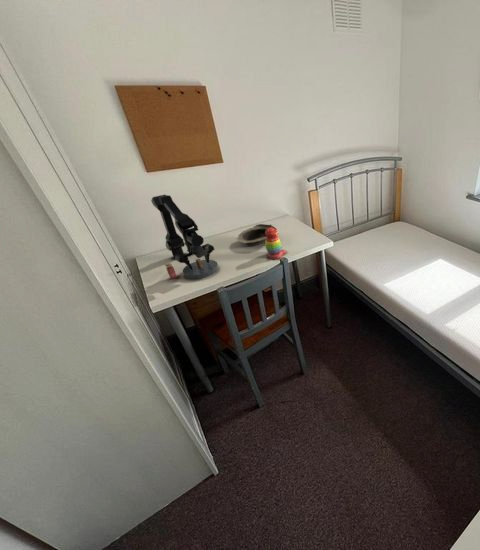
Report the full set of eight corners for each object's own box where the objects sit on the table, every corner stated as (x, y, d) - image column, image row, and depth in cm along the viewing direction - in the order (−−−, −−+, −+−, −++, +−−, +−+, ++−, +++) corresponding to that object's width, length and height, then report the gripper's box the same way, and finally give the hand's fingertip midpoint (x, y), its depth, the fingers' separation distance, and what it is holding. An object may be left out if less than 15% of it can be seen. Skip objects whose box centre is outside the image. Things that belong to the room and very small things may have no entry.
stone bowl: (283, 236, 205) (281, 224, 200) (266, 254, 186) (263, 241, 180) (252, 232, 210) (249, 221, 205) (232, 250, 190) (228, 237, 185)
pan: (193, 266, 170) (191, 261, 169) (222, 264, 172) (220, 260, 170) (180, 281, 156) (178, 276, 155) (212, 279, 157) (210, 274, 156)
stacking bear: (279, 259, 176) (274, 232, 166) (264, 258, 177) (258, 231, 168) (287, 251, 185) (282, 225, 175) (272, 250, 186) (267, 224, 177)
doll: (172, 276, 160) (165, 260, 155) (179, 276, 161) (173, 260, 155) (168, 280, 157) (161, 264, 152) (176, 280, 157) (169, 264, 152)
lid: (191, 262, 170) (188, 253, 167) (222, 260, 171) (219, 251, 168) (177, 277, 155) (173, 268, 152) (211, 275, 156) (208, 266, 153)
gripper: (180, 251, 143) (191, 278, 151) (215, 238, 156) (223, 263, 164) (169, 245, 149) (180, 272, 157) (204, 233, 162) (212, 258, 170)
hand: (200, 266), depth 162 cm, fingers open, 9 cm apart
